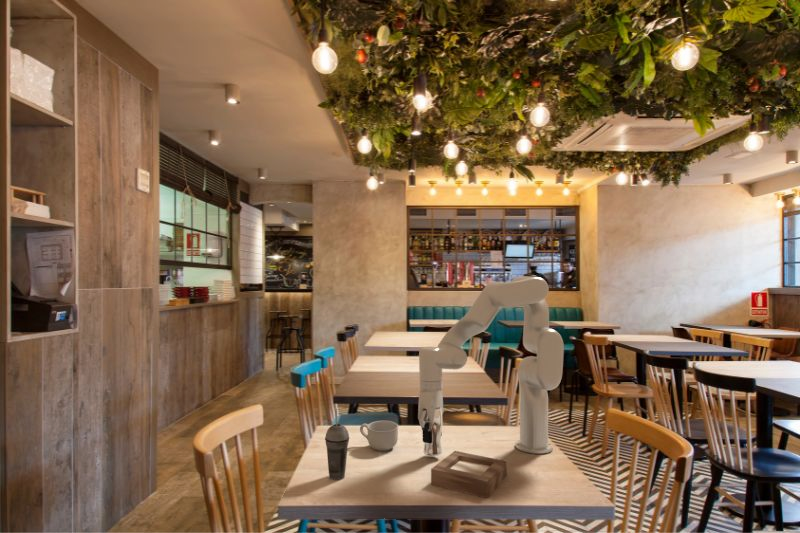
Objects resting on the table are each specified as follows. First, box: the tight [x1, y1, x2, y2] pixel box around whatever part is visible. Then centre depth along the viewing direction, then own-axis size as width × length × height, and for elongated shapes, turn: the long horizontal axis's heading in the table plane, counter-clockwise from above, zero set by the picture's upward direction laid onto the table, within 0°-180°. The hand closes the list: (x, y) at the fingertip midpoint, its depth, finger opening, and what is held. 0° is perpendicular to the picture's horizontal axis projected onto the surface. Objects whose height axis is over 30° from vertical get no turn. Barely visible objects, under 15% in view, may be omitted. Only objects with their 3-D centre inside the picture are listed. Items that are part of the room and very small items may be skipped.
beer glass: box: [422, 406, 443, 457], centre depth 164 cm, size 7×7×15 cm
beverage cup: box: [324, 408, 350, 481], centre depth 148 cm, size 7×7×20 cm
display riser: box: [430, 450, 508, 499], centre depth 146 cm, size 17×17×4 cm
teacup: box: [359, 420, 399, 452], centre depth 174 cm, size 14×11×8 cm
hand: (432, 438), depth 164 cm, fingers closed on beer glass, 6 cm apart
